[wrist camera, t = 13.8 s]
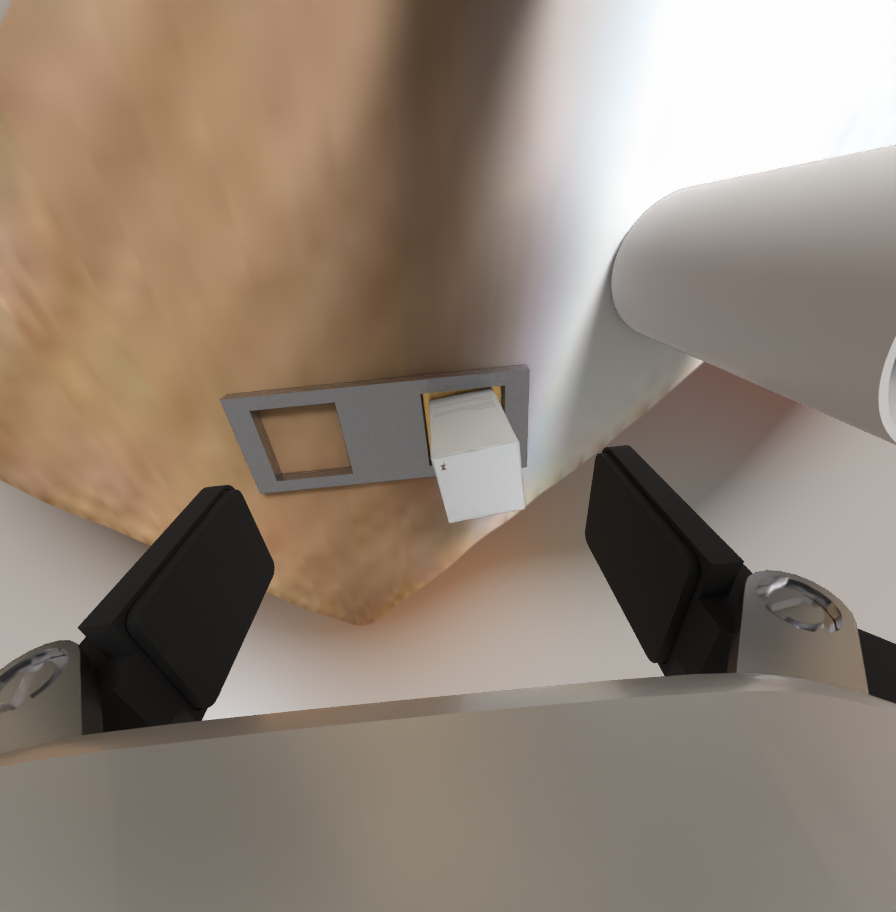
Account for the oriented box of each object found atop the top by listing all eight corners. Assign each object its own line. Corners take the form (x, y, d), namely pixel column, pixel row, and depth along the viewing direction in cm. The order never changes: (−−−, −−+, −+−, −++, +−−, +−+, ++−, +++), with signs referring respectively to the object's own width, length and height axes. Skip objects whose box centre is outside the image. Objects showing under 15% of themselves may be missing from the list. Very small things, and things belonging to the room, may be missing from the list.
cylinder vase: (682, 151, 30) (1295, -61, 9) (769, 243, 34) (1347, 247, 13) (581, 291, 36) (817, 369, 14) (666, 357, 39) (955, 497, 18)
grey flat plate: (227, 394, 39) (219, 399, 38) (525, 364, 39) (529, 369, 38) (265, 486, 45) (260, 493, 44) (523, 460, 45) (526, 467, 44)
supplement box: (441, 455, 44) (445, 525, 33) (428, 398, 40) (428, 457, 29) (501, 444, 44) (526, 511, 33) (494, 385, 40) (519, 440, 29)
